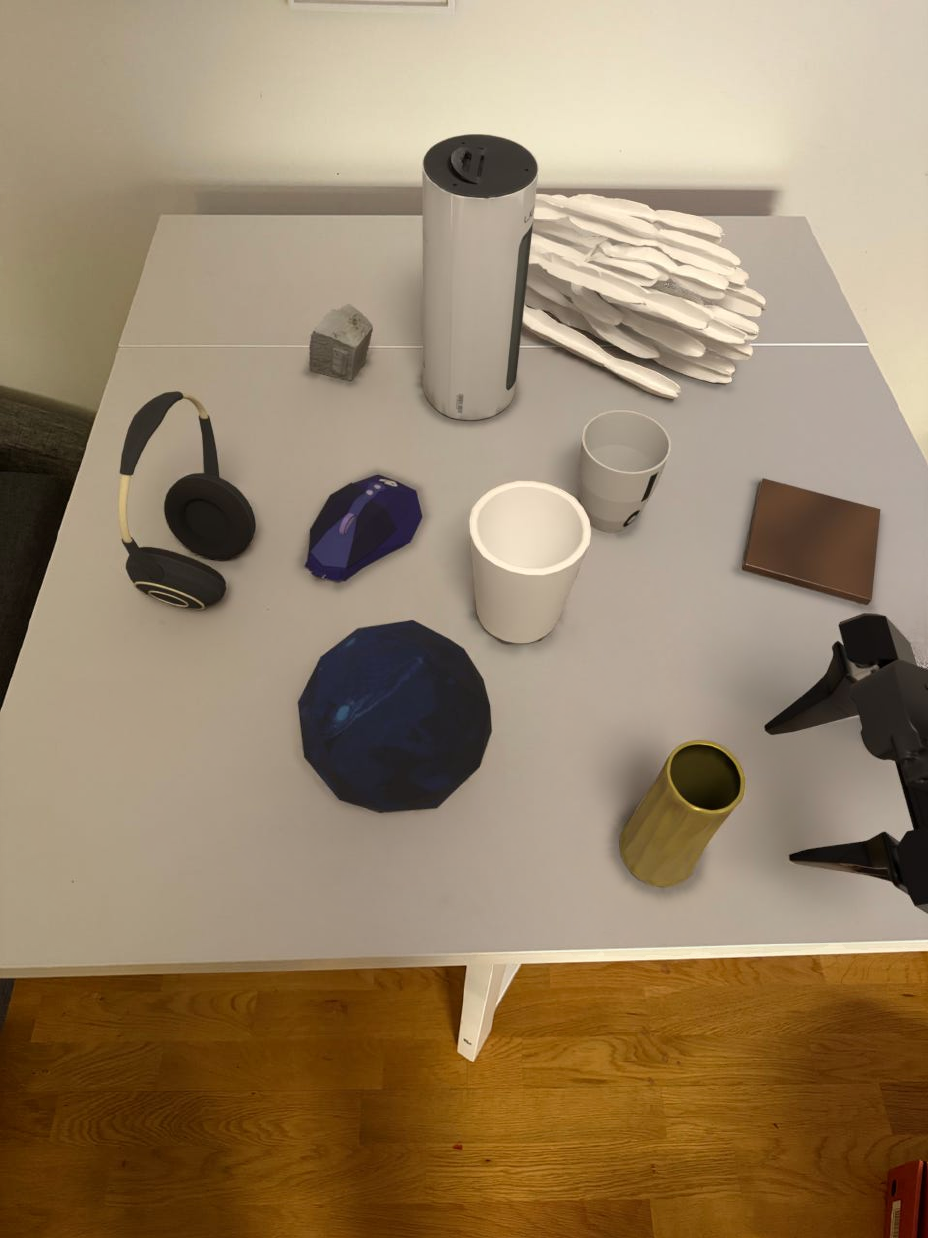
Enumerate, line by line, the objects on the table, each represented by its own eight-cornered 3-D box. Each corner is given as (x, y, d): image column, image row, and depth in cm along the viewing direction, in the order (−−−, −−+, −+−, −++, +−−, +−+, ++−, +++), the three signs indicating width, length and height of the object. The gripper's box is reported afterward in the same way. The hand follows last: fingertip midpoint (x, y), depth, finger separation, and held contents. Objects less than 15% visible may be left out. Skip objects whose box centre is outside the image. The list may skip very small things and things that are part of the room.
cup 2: (637, 554, 84) (659, 483, 76) (557, 530, 86) (571, 458, 77) (656, 496, 89) (679, 423, 80) (580, 474, 90) (595, 400, 82)
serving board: (876, 515, 88) (880, 508, 87) (867, 605, 82) (872, 599, 81) (759, 484, 90) (762, 477, 89) (741, 570, 84) (744, 564, 83)
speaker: (498, 433, 93) (519, 201, 71) (407, 409, 95) (401, 175, 73) (526, 371, 99) (553, 139, 77) (440, 349, 100) (443, 116, 78)
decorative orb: (247, 810, 63) (361, 747, 53) (282, 637, 71) (385, 555, 61) (405, 858, 70) (532, 810, 60) (420, 696, 79) (532, 630, 69)
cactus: (418, 261, 94) (718, 382, 84) (495, 109, 93) (807, 213, 83) (461, 327, 110) (716, 435, 100) (527, 199, 109) (791, 295, 99)
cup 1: (581, 652, 78) (605, 566, 67) (473, 666, 77) (480, 581, 66) (556, 565, 83) (575, 473, 73) (456, 577, 82) (460, 485, 72)
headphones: (125, 627, 78) (42, 472, 61) (194, 507, 86) (138, 341, 69) (214, 649, 77) (154, 497, 60) (276, 526, 85) (238, 362, 68)
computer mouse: (441, 500, 87) (442, 472, 84) (363, 605, 80) (360, 579, 77) (363, 466, 90) (360, 438, 86) (280, 565, 82) (274, 539, 79)
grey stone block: (295, 386, 95) (290, 316, 89) (330, 353, 101) (328, 285, 95) (356, 402, 93) (355, 331, 88) (388, 367, 100) (389, 299, 94)
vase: (661, 904, 66) (712, 839, 54) (602, 844, 68) (639, 770, 56) (712, 853, 68) (772, 780, 56) (654, 797, 70) (700, 716, 59)
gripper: (941, 529, 50) (699, 626, 59) (1057, 847, 39) (741, 906, 48) (1000, 612, 56) (775, 688, 65) (1113, 902, 46) (827, 945, 55)
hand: (778, 792), depth 58 cm, fingers open, 9 cm apart
